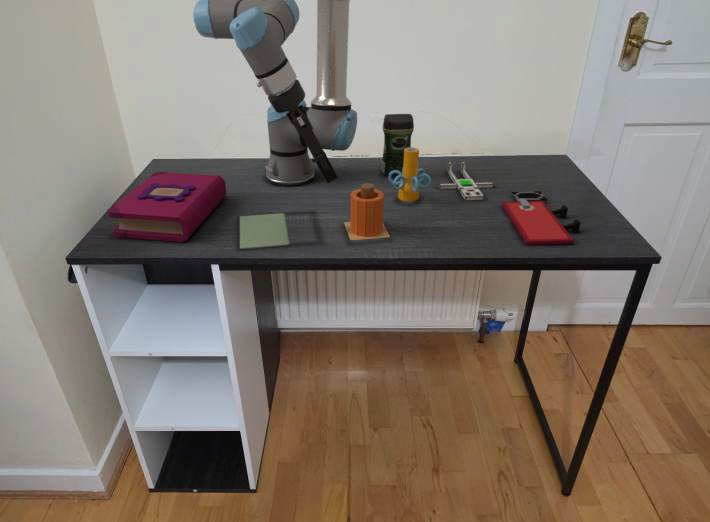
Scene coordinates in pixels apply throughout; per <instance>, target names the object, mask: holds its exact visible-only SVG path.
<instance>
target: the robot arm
mask: <svg viewBox="0 0 710 522" xmlns="http://www.w3.org/2000/svg"><path fill="white" fill-rule="evenodd" d="M316 1H317V3H316V93H315V94H316V95H315V97H313V99H312V100H311V101H310V106H307V103H306V100H305V98H306V92H305V90H304V88H303V86H302V84H301V82H300V81H299V80H298V79H297V74H296V72H295V70H294V68H293V66H292V64H291V63H290V60H289V58H288V57H287V56H286V54H285V51H284V50H283V47H282V46H283V44H284V43H285V42H286V41H287V40H288V38H289V37H290V35H291V34H293V32H294V31H295V29H296V26H297V24H298V22H299V20H300V9H299V6H298V4H297V2H296V0H198V1H197V2H196V3H195V5H194V7H193V13H192V17H193V23H194V27H195V29H196V31H197V33H198V34H199V35H200V36H201V37H204V38H210V39H214V40H220V39H221V40H223V39H224V40H234V42H235V45H236V47H237V48H238V50H239V51H240V52H241V55H243V58H244V59H245V61H246V62H247V64H248V66H249V68H250V69H251V71H252V72H253V75H254V76H255V78H256V79H257V81H258V82H257V83H256V86H257V88H262V91H263V92H264V94H265V95H266V96H267V99H268V102H269V104H270V106H268V108H267V110H266V112H267V113H266V114H267V115H266V117H267V118H266V119H267V120H266V123H267V132H268V143H269V157H268V162H267V165H265V170H266V171H265V177H266V181H267V182H268V183H270V184H273V185H275V186H280V187H281V186H282V187H294V186H302V185H305V184H308V183H310V182H311V181H313V180H314V179H315V168H314V166H313V164H312V163H316V165H317V167H318V169H319V171H320V172H321V174H322V176H323V178H324V180H325V182H326V183H327V184H330V183H331V182H334V181H335V180H337V179H338V178H339V177H338V175H337V172H336V171H335V169H334V167H333V165H332V162H330V160H329V158H328V156H327V153H326V152H325V151H324V150H329V151H332V152H335V151H343V152H344V151H346V150H348V149H349V148H350V147H351V145H352V143H353V141H354V138H355V135H356V132H357V128H358V112H357V110H354V109H352V102H351V100H350V99H349V98H348V96H347V89H348V88H347V86H348V85H347V84H348V58H349V57H348V54H349V27H350V2H351V0H316ZM309 152H310V154H311V156H312V159H311V158H310V155H309Z"/></svg>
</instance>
